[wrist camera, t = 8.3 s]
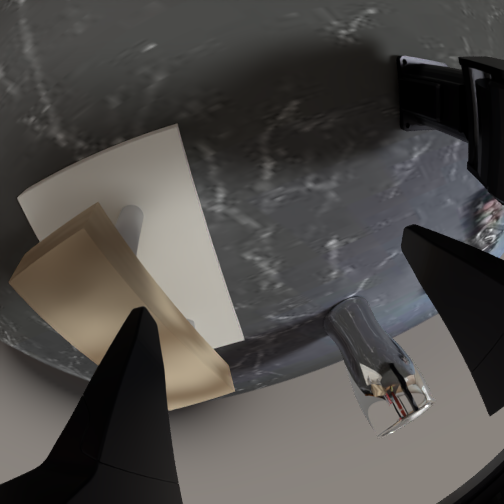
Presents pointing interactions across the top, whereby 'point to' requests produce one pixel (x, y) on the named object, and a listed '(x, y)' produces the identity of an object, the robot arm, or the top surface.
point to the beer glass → (377, 368)
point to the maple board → (114, 303)
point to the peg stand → (147, 222)
